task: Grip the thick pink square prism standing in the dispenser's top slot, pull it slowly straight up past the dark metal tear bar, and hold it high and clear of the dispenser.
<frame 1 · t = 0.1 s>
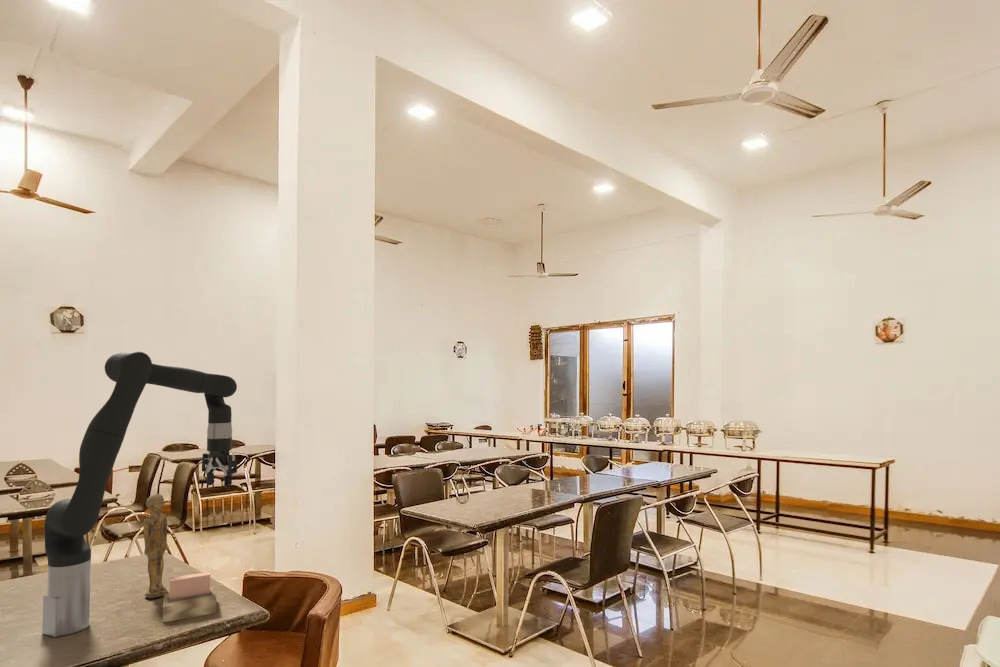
hand: (218, 485, 200), 29 cm above the table, fingers open, 8 cm apart
pink square prism: (189, 610, 170), resting in dispenser
dispenser: (189, 610, 170), on the table
sculpture: (155, 596, 181), on the table
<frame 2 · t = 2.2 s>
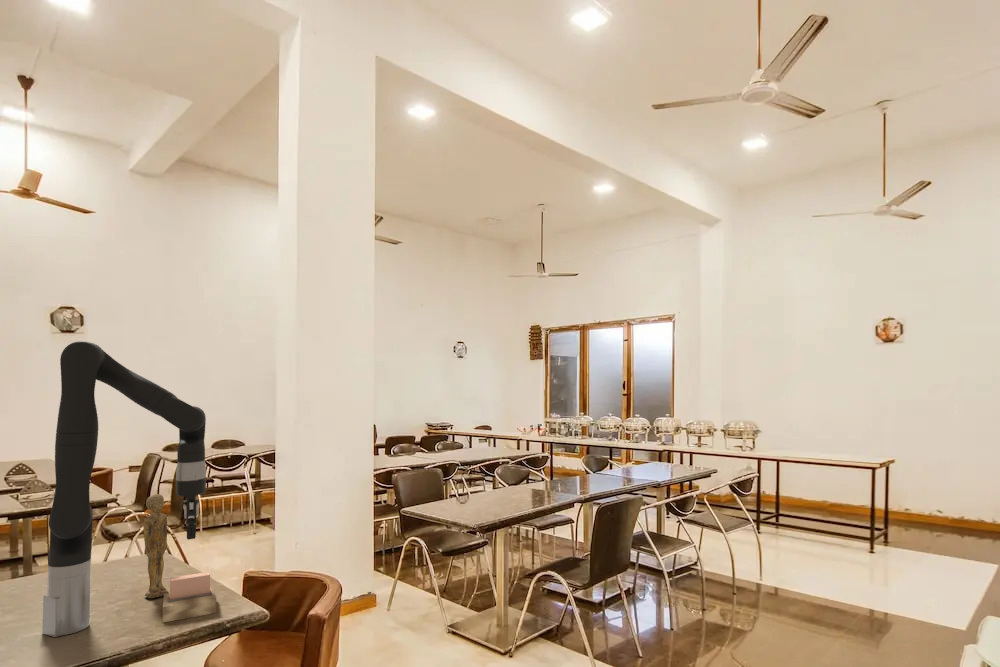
hand: (191, 535, 171), 21 cm above the table, fingers open, 8 cm apart
nothing on the table moved.
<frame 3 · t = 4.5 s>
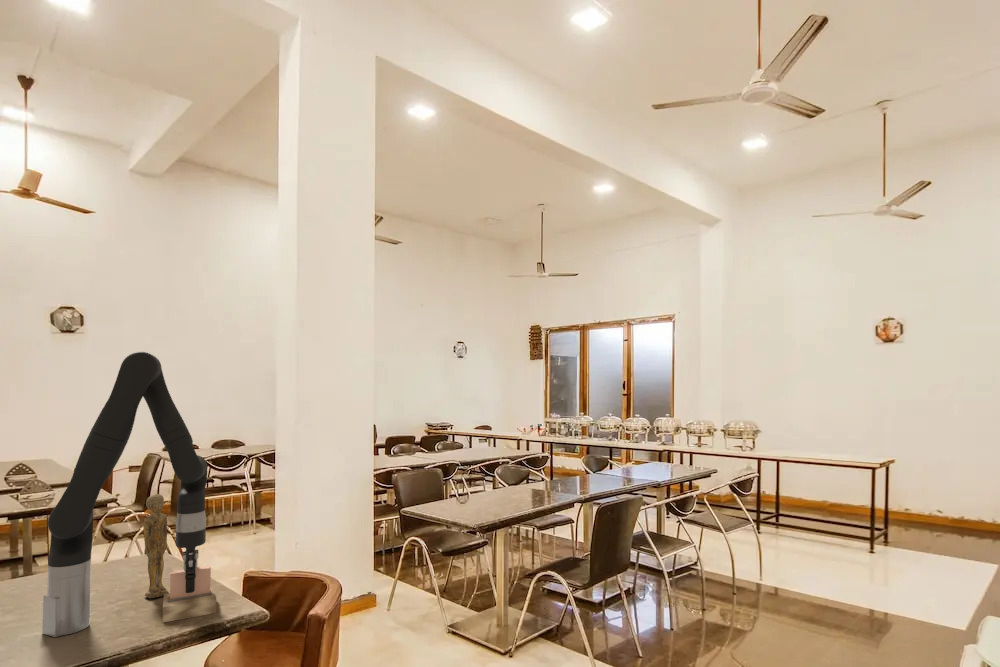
hand: (190, 590, 170), 6 cm above the table, fingers closed on pink square prism, 2 cm apart
pink square prism: (190, 604, 170), point 2 cm above the table, touching gripper
everything else where it was.
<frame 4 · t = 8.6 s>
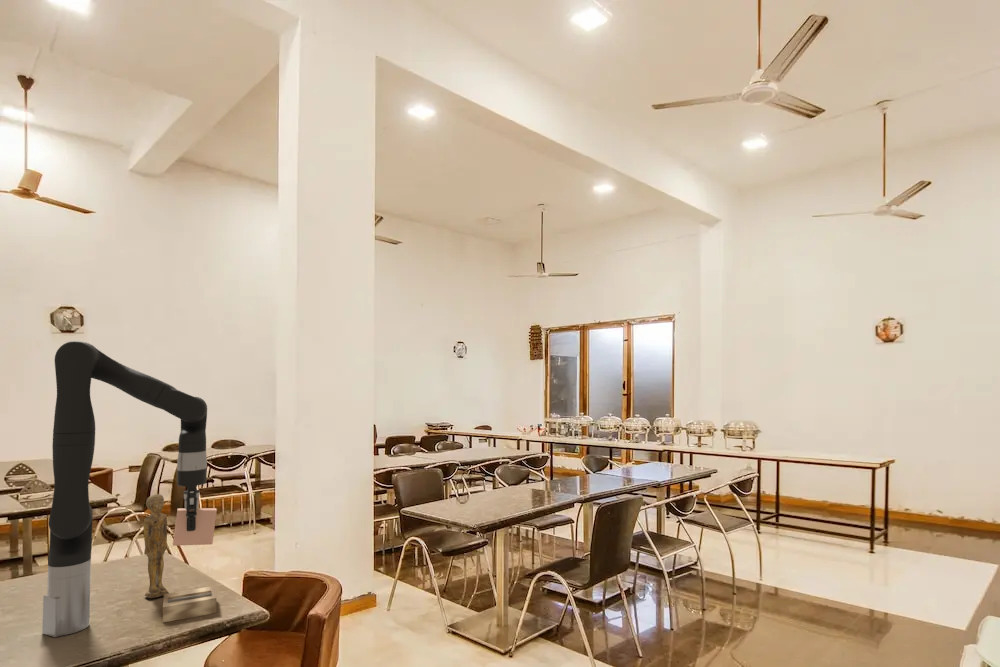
hand: (191, 529, 171), 22 cm above the table, fingers closed on pink square prism, 2 cm apart
pink square prism: (192, 543, 171), point 18 cm above the table, tilted 6°, touching gripper
everything else where it was.
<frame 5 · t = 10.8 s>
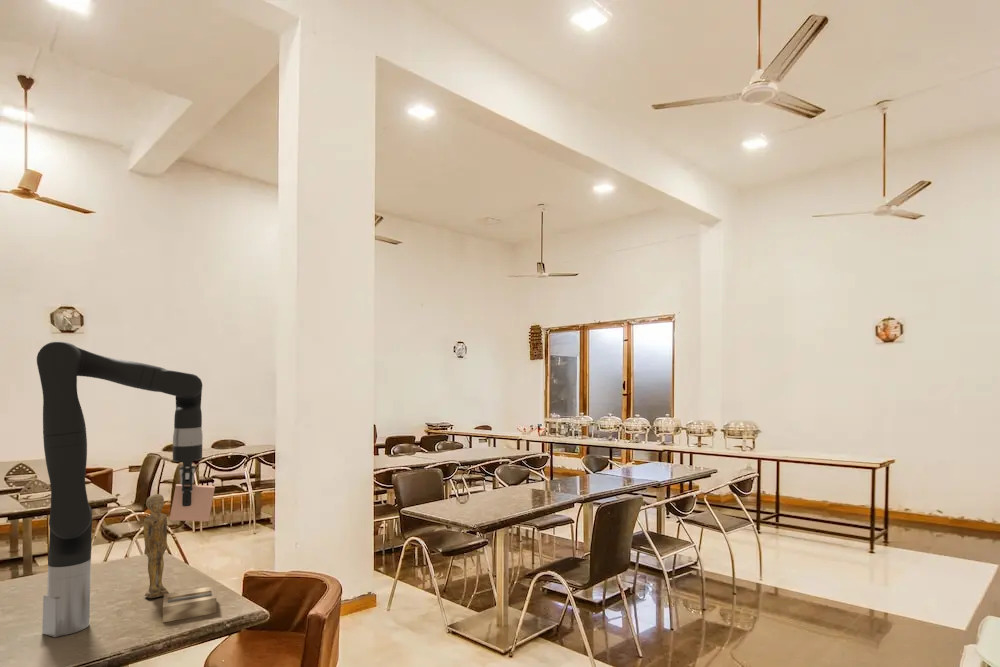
hand: (186, 504, 172), 29 cm above the table, fingers closed on pink square prism, 2 cm apart
pink square prism: (189, 519, 172), point 25 cm above the table, tilted 9°, touching gripper
everything else where it was.
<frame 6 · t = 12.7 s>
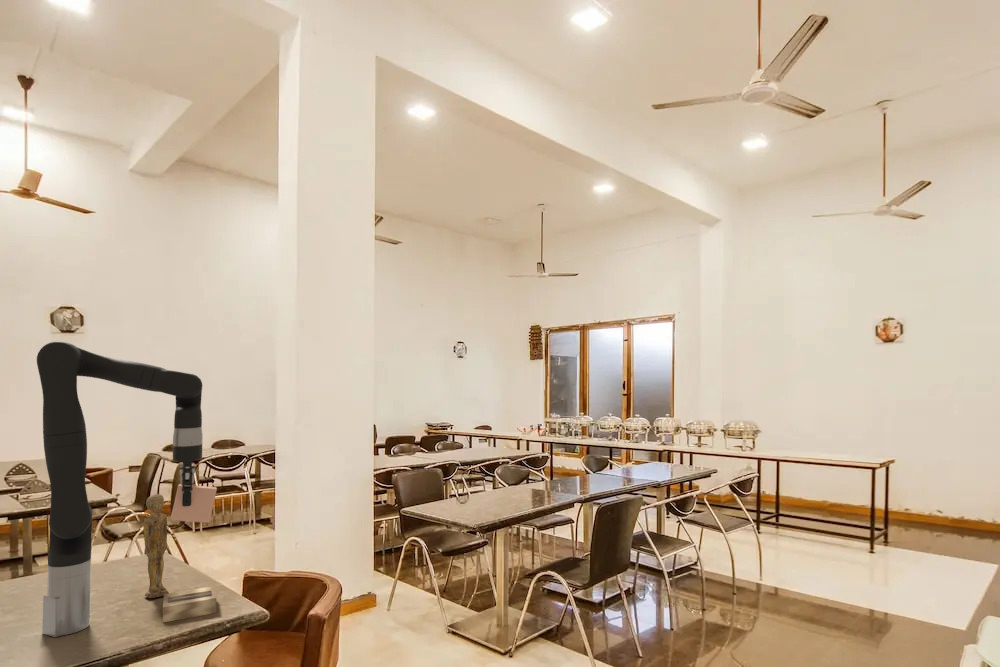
hand: (186, 504, 172), 29 cm above the table, fingers closed on pink square prism, 2 cm apart
pink square prism: (190, 520, 172), point 25 cm above the table, tilted 11°, touching gripper
everything else where it was.
at the end: the gripper is holding pink square prism; pink square prism point 24.5 cm above the table; pink square prism touching gripper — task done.
